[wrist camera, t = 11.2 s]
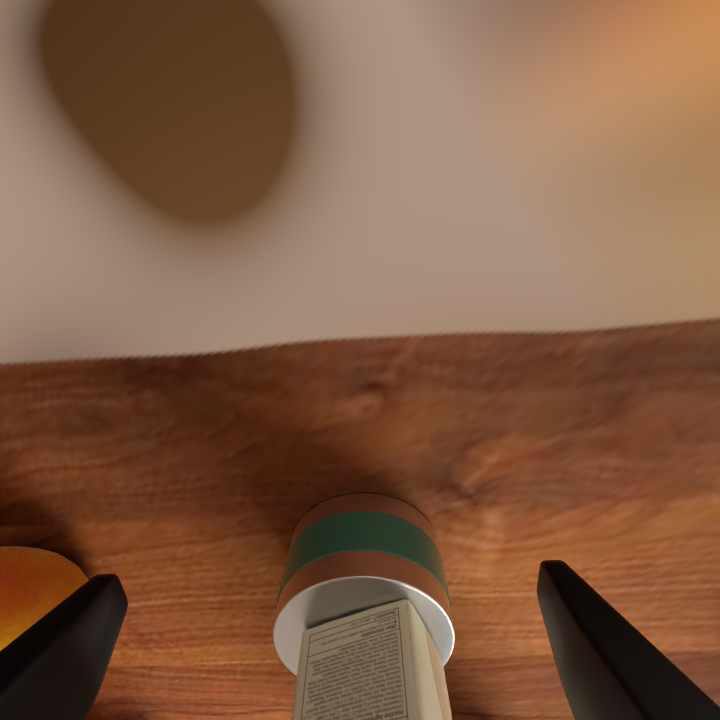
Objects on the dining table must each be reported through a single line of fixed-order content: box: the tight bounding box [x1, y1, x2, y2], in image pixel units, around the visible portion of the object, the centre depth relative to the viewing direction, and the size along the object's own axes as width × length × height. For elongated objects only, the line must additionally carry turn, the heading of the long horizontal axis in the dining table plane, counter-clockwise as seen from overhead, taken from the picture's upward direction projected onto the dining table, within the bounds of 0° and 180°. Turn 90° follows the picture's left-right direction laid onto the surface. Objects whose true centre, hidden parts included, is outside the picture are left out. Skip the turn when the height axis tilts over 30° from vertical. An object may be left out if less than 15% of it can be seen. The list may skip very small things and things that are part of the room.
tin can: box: [272, 493, 455, 676], centre depth 21 cm, size 8×8×5 cm
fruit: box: [0, 546, 88, 651], centre depth 22 cm, size 8×8×8 cm
